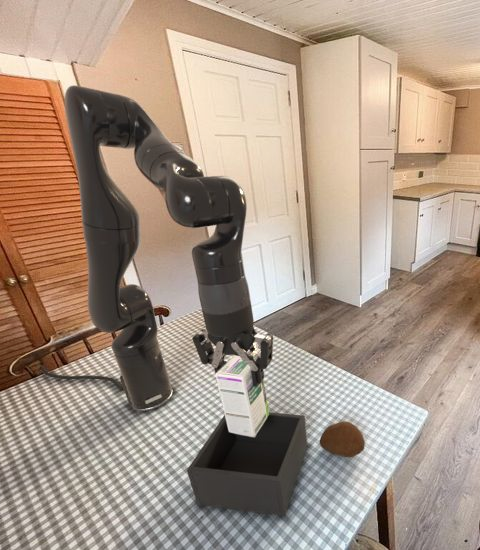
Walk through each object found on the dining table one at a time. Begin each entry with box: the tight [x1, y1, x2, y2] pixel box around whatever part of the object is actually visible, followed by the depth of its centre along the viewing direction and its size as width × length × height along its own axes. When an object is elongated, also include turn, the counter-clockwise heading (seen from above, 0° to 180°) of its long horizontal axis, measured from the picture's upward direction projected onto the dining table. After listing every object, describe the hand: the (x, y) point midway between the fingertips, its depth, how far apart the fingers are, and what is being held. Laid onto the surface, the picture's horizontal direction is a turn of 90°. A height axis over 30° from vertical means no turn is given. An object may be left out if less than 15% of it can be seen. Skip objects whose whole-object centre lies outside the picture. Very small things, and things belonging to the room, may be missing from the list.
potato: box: [319, 420, 366, 459], centre depth 69 cm, size 7×10×7 cm
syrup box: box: [215, 355, 270, 437], centre depth 58 cm, size 6×6×14 cm
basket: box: [186, 411, 308, 517], centre depth 63 cm, size 18×15×10 cm
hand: (241, 381), depth 57 cm, fingers closed on syrup box, 6 cm apart
